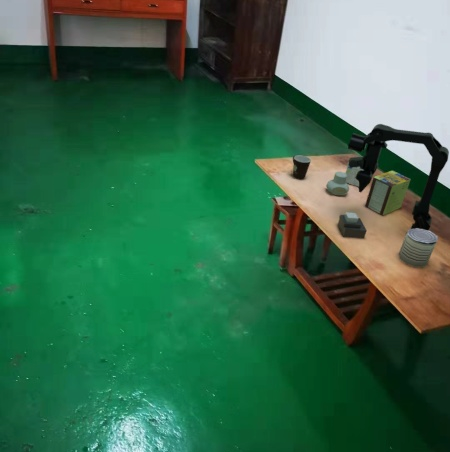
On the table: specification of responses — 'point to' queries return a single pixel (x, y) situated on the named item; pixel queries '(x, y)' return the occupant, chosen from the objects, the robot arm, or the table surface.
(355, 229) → the stepped grey pedestal
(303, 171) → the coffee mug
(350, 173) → the light bulb box
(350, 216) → the pad
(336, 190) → the air freshener
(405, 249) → the can
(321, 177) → the table surface
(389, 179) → the protein box
